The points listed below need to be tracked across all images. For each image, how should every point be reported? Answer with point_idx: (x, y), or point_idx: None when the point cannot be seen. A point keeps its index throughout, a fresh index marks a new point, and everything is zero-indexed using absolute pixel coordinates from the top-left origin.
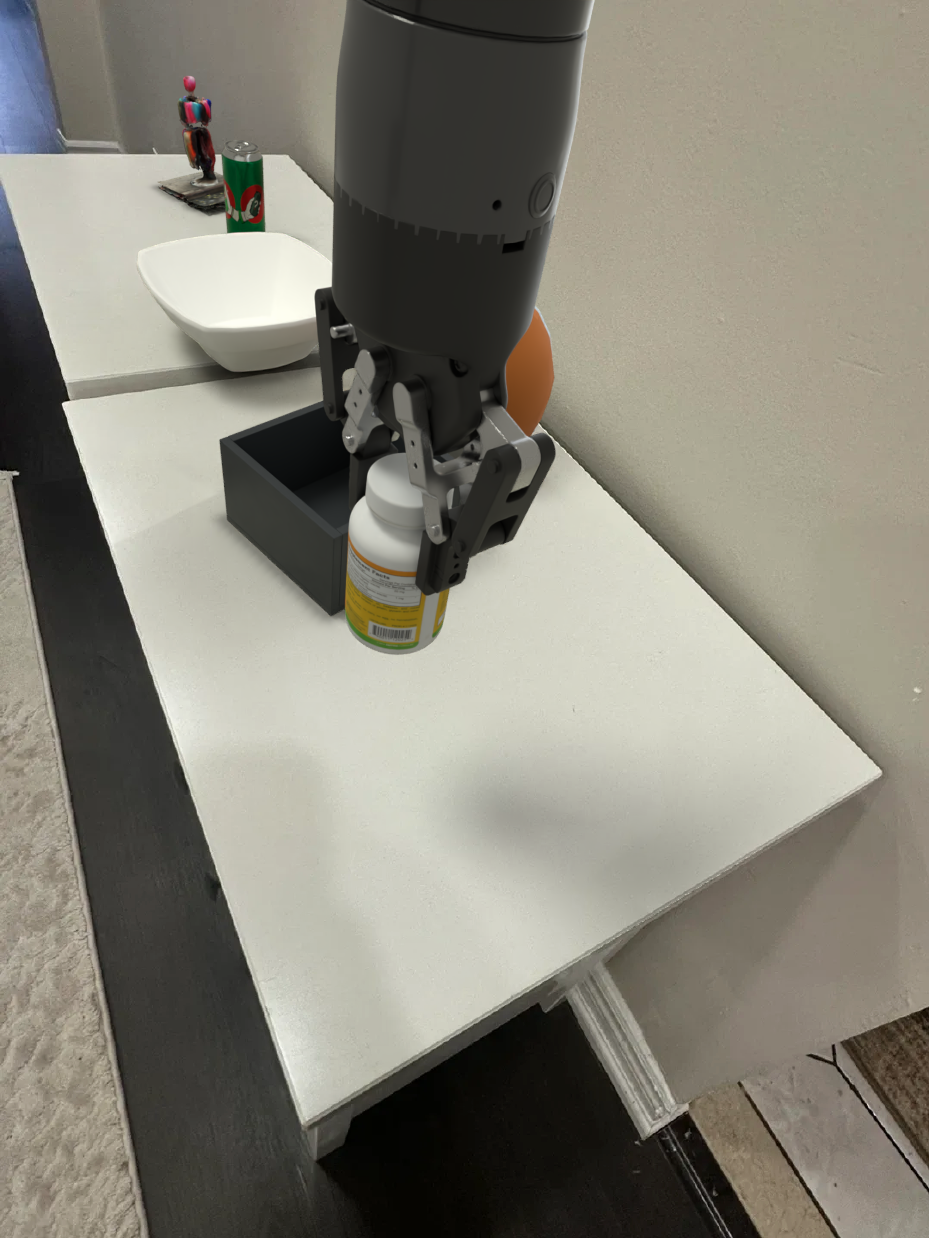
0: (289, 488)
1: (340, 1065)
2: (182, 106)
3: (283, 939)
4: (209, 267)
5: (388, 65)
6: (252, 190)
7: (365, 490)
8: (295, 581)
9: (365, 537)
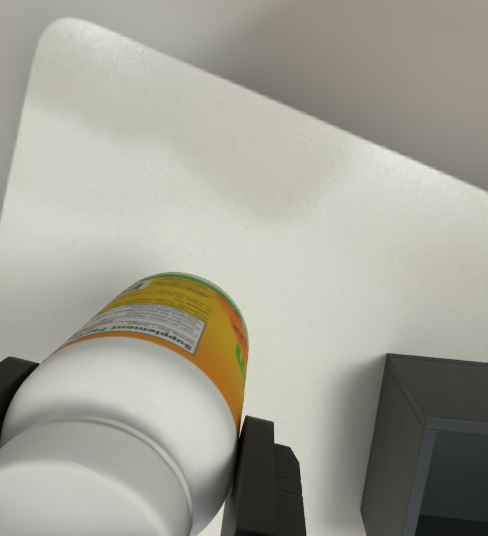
0: None
1: (54, 46)
2: None
3: (161, 82)
4: None
5: None
6: None
7: (237, 472)
8: (450, 360)
9: (117, 366)
